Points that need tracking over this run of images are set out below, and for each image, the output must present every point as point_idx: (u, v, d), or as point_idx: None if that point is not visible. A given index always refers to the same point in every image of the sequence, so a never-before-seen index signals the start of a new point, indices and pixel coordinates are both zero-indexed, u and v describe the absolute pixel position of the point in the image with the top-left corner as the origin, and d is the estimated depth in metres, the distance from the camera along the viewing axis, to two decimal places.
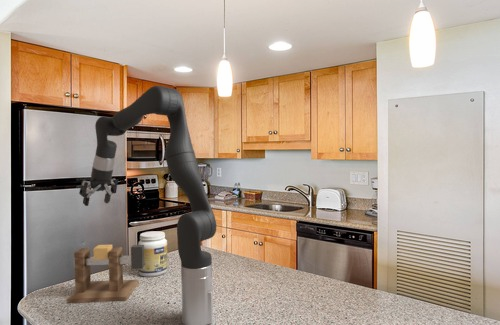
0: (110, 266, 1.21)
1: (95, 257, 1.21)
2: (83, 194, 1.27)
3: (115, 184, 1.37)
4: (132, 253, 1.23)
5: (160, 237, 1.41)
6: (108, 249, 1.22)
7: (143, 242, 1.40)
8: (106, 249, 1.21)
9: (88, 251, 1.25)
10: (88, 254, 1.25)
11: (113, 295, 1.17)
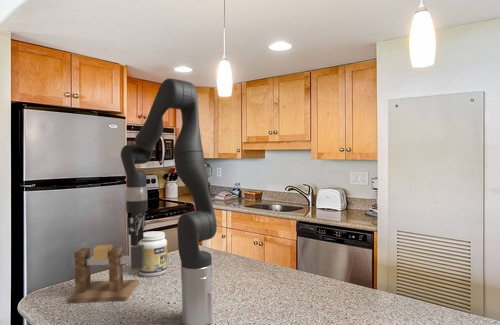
0: (110, 266, 1.21)
1: (95, 257, 1.21)
2: (135, 231, 1.17)
3: (144, 216, 1.30)
4: (132, 253, 1.23)
5: (160, 237, 1.41)
6: (108, 249, 1.22)
7: (143, 242, 1.40)
8: (106, 249, 1.21)
9: (88, 251, 1.25)
10: (88, 254, 1.25)
11: (113, 295, 1.17)
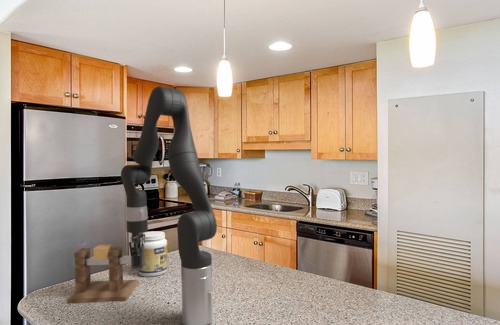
0: (110, 266, 1.21)
1: (95, 257, 1.21)
2: (137, 253, 1.20)
3: (144, 238, 1.29)
4: None
5: (160, 237, 1.41)
6: (108, 249, 1.22)
7: None
8: (106, 249, 1.21)
9: (88, 251, 1.25)
10: (88, 254, 1.25)
11: (113, 295, 1.17)
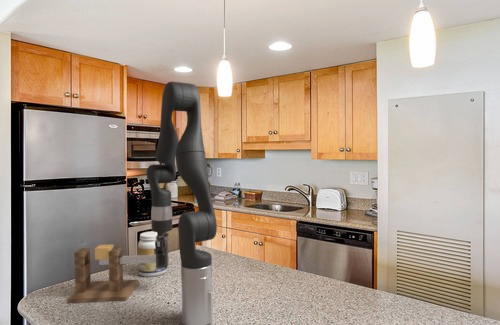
0: (110, 266, 1.21)
1: (96, 257, 1.21)
2: (163, 252, 1.21)
3: None
4: None
5: None
6: (109, 249, 1.22)
7: (143, 242, 1.40)
8: (107, 249, 1.21)
9: (88, 251, 1.25)
10: (88, 254, 1.25)
11: (113, 295, 1.17)
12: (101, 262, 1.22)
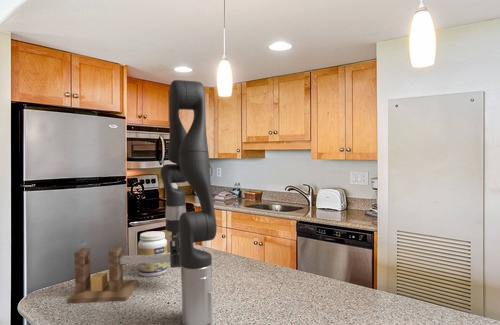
0: (110, 266, 1.21)
1: (100, 289, 1.21)
2: (177, 251, 1.21)
3: None
4: None
5: (160, 237, 1.41)
6: (93, 276, 1.22)
7: (143, 242, 1.40)
8: (92, 278, 1.21)
9: (88, 251, 1.25)
10: (88, 254, 1.25)
11: (113, 295, 1.17)
12: None
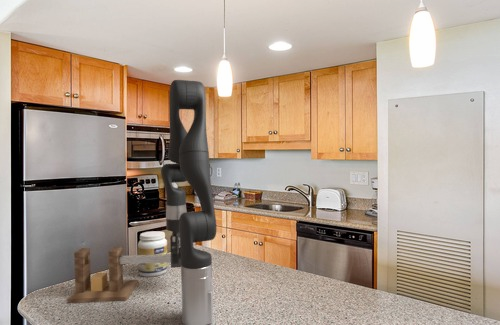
0: (110, 266, 1.21)
1: (100, 289, 1.21)
2: (177, 250, 1.18)
3: None
4: None
5: (160, 237, 1.41)
6: (93, 276, 1.22)
7: (143, 242, 1.40)
8: (92, 278, 1.21)
9: (88, 251, 1.25)
10: (88, 254, 1.25)
11: (113, 295, 1.17)
12: None
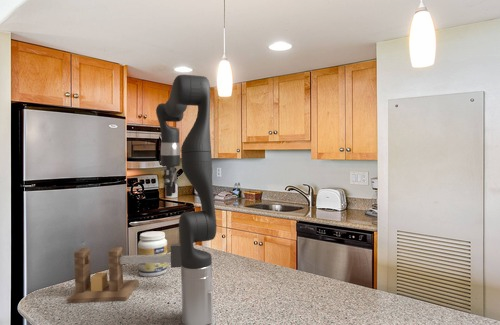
0: (110, 266, 1.21)
1: (100, 289, 1.21)
2: (171, 182, 1.27)
3: None
4: (172, 252, 1.23)
5: (160, 237, 1.41)
6: (93, 276, 1.22)
7: (143, 242, 1.40)
8: (92, 278, 1.21)
9: (88, 251, 1.25)
10: (88, 254, 1.25)
11: (113, 295, 1.17)
12: None
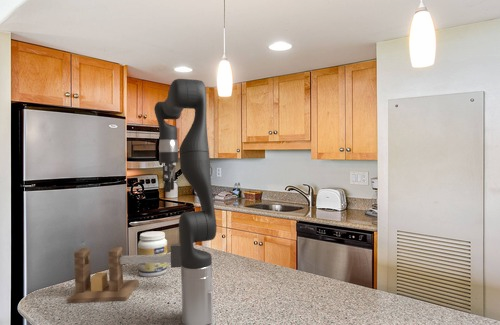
0: (110, 266, 1.21)
1: (100, 289, 1.21)
2: (169, 178, 1.30)
3: None
4: (172, 252, 1.23)
5: (160, 237, 1.41)
6: (93, 276, 1.22)
7: (143, 242, 1.40)
8: (92, 278, 1.21)
9: (88, 251, 1.25)
10: (88, 254, 1.25)
11: (113, 295, 1.17)
12: None
